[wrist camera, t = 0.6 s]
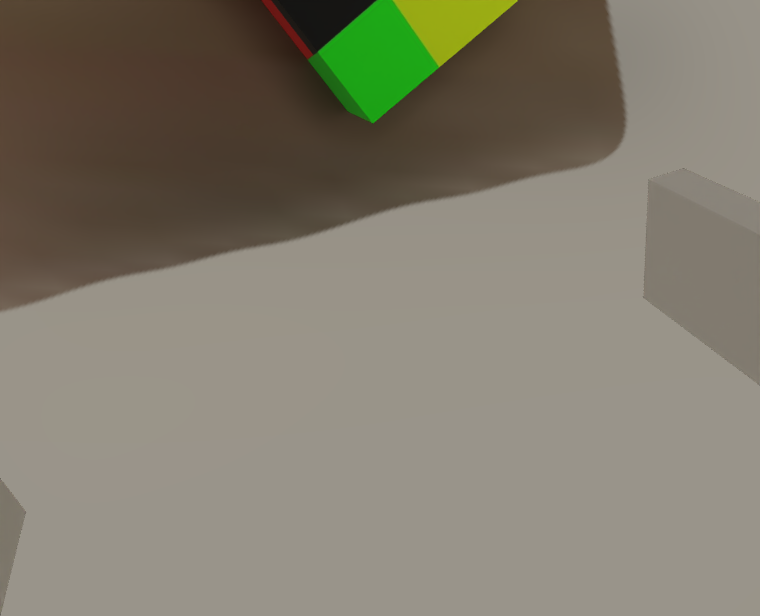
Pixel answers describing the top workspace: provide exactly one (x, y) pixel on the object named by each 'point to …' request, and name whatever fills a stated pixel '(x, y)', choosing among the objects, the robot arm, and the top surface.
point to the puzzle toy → (381, 43)
